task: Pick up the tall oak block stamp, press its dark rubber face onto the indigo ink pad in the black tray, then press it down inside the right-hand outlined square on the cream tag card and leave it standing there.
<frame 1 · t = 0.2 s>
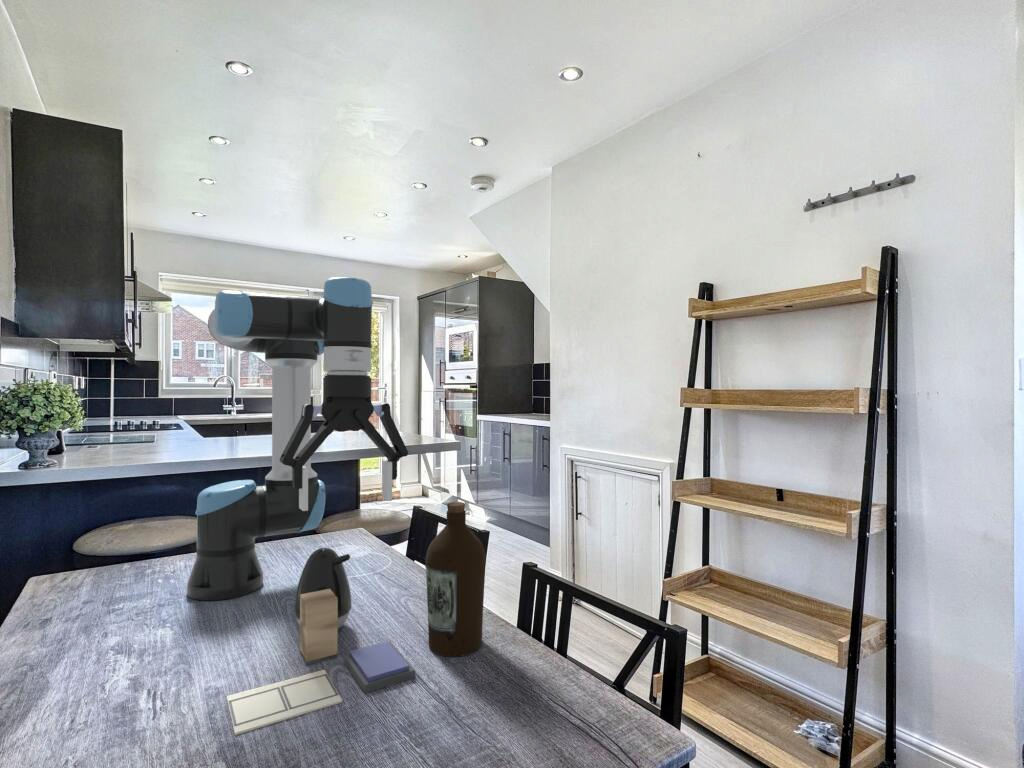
hand: (346, 504, 90), 26 cm above the table, fingers open, 13 cm apart
stamp: (318, 655, 93), on the table
ink pad: (378, 669, 89), on the table
olive oil: (454, 645, 97), on the table
pump dispenser: (323, 630, 103), on the table
tag card: (284, 700, 80), on the table
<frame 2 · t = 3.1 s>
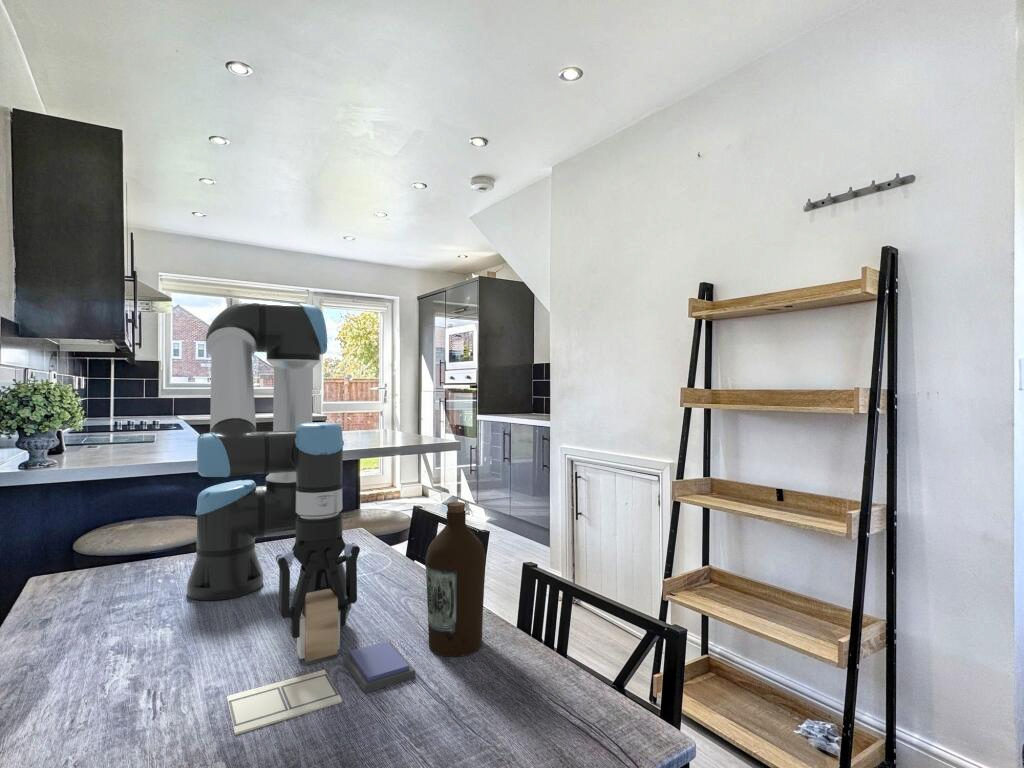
hand: (318, 650, 93), 1 cm above the table, fingers closed on stamp, 5 cm apart
stamp: (318, 654, 93), on the table, touching gripper
everything else where it was.
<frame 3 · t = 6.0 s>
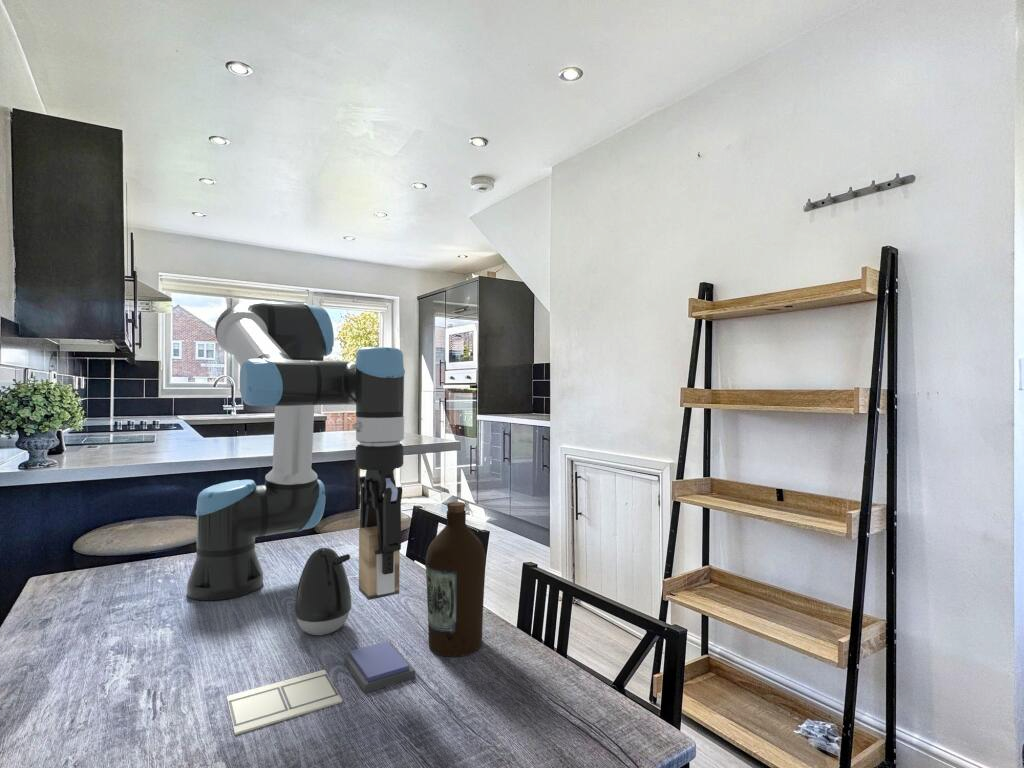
hand: (379, 586, 89), 13 cm above the table, fingers closed on stamp, 5 cm apart
stamp: (378, 591, 89), point 13 cm above the table, touching gripper
everything else where it was.
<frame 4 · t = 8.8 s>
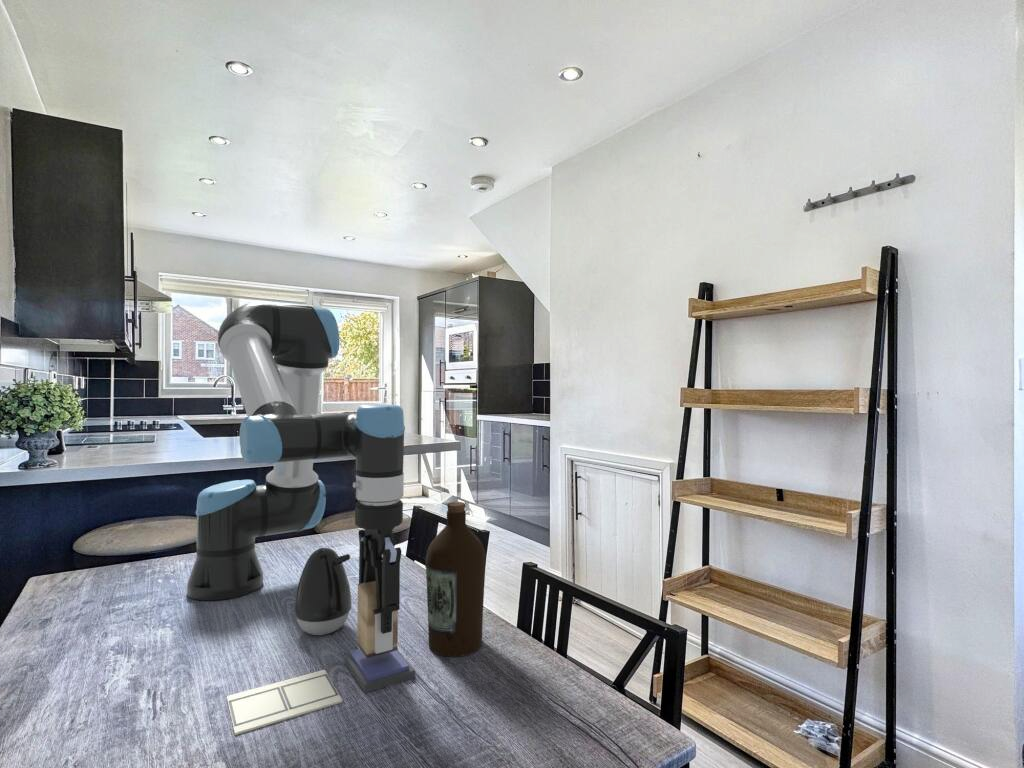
hand: (377, 642, 89), 4 cm above the table, fingers closed on stamp, 5 cm apart
stamp: (377, 647, 89), point 3 cm above the table, touching gripper
everything else where it was.
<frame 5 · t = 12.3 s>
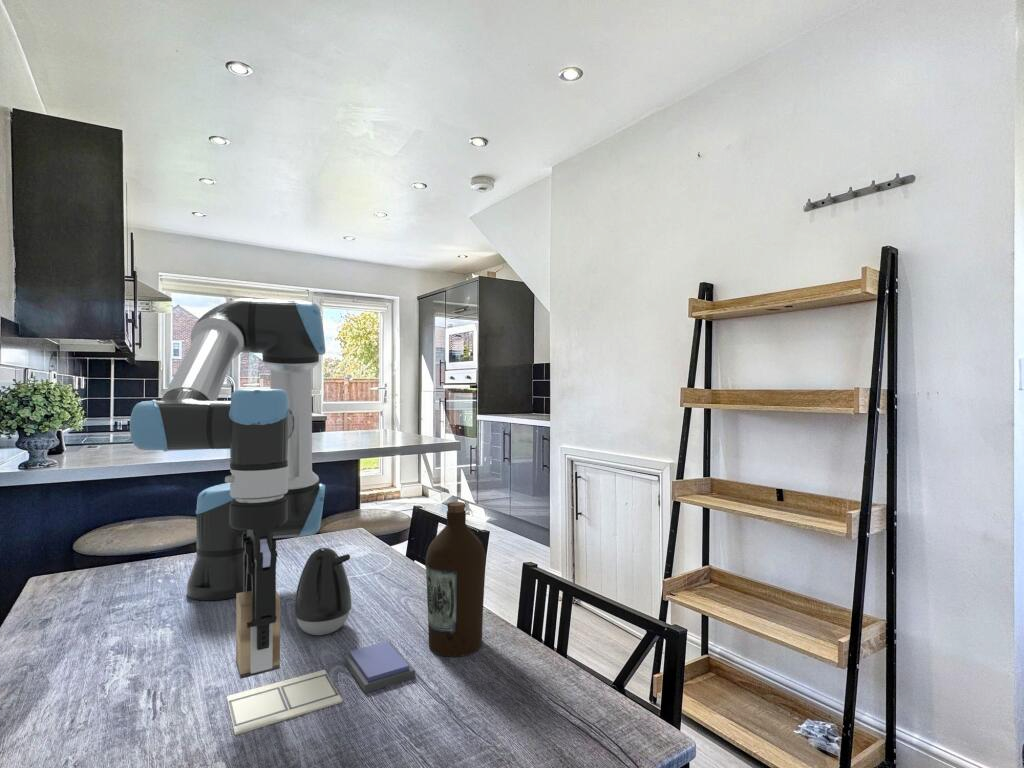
hand: (258, 660, 78), 7 cm above the table, fingers closed on stamp, 5 cm apart
stamp: (257, 665, 78), point 6 cm above the table, touching gripper
everything else where it was.
when the fingers open (1 cm above the table, at t = 14.6 s): stamp stays where it is, resting on tag card.
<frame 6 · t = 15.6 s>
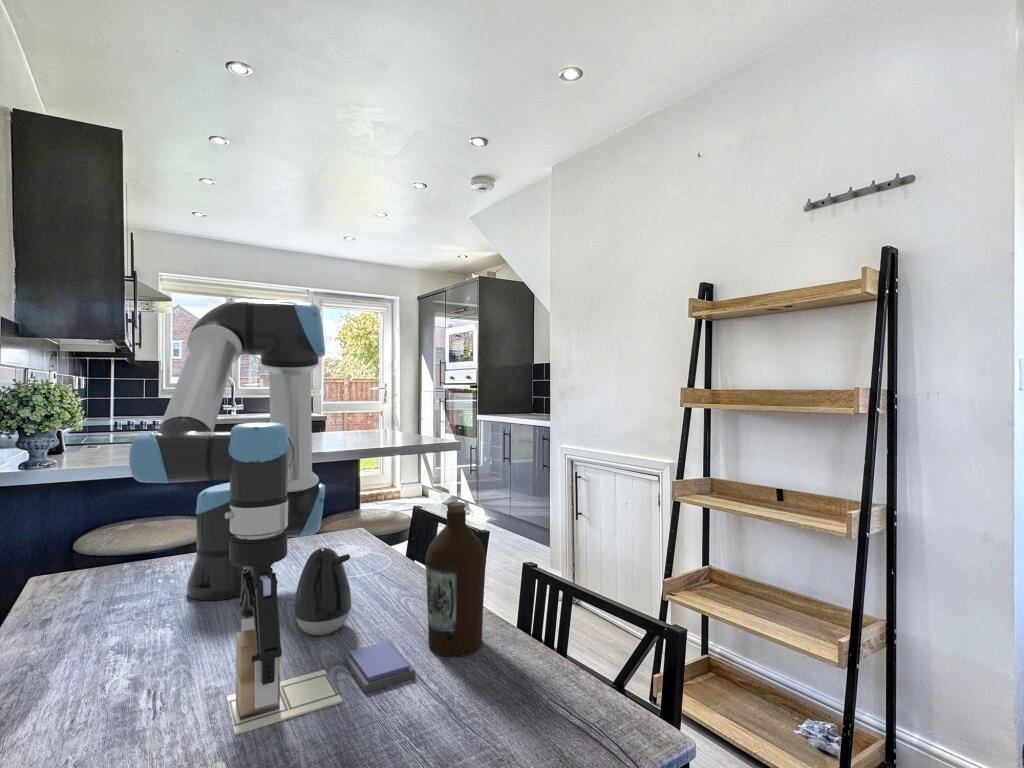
hand: (258, 680, 78), 4 cm above the table, fingers open, 13 cm apart
stamp: (257, 705, 78), resting on tag card
everything else where it was.
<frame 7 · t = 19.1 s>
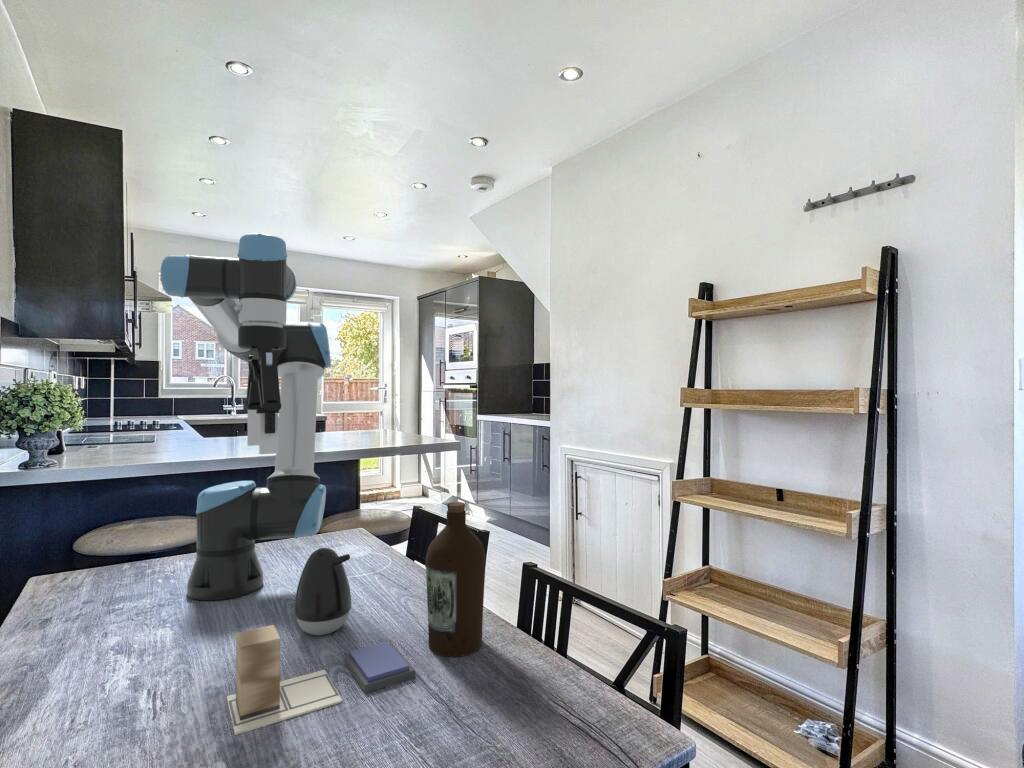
hand: (261, 449, 95), 35 cm above the table, fingers open, 13 cm apart
nothing on the table moved.
at the end: stamp inside the target area on the tag card (0.1 cm from its centre), point 0.3 cm above the tag card's base; stamp tilted 0°; the gripper is holding nothing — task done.
